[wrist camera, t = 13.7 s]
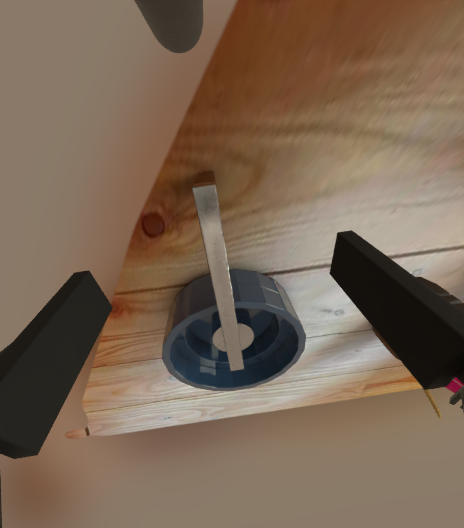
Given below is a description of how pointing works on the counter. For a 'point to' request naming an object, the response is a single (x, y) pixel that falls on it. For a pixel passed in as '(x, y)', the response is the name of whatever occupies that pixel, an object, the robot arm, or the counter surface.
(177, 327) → the bowl
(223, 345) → the bent grey beam
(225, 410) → the counter surface
